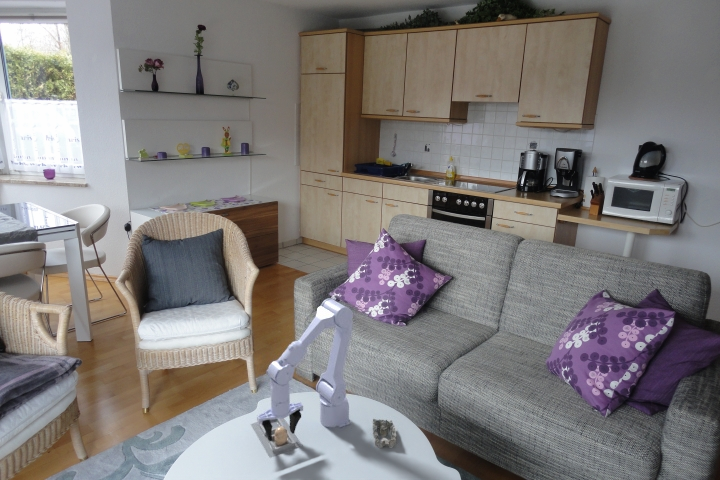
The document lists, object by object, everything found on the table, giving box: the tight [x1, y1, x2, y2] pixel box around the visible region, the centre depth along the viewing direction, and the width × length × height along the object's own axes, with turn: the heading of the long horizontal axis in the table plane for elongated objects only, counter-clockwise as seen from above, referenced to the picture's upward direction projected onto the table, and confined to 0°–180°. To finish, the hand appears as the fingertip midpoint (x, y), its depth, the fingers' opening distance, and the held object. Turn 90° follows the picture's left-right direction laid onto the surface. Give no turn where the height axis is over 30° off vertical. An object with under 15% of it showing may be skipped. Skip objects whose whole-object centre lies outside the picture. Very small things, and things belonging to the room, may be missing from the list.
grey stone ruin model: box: [372, 418, 397, 449], centre depth 156 cm, size 11×8×4 cm
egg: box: [275, 427, 287, 447], centre depth 151 cm, size 4×4×6 cm
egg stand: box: [250, 418, 304, 458], centre depth 155 cm, size 11×18×2 cm, turn 31°
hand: (280, 435), depth 151 cm, fingers open, 7 cm apart
